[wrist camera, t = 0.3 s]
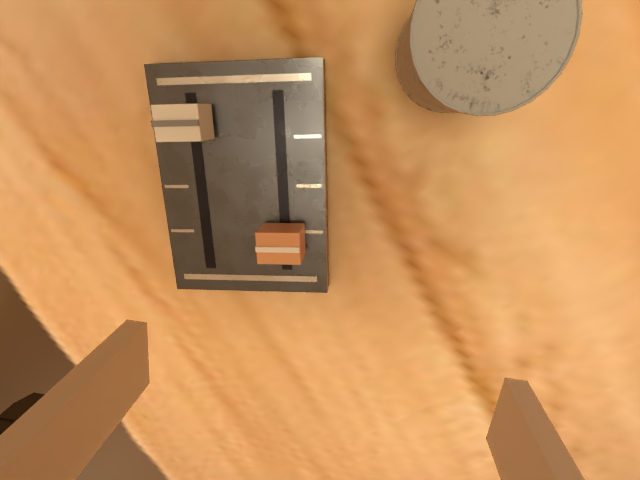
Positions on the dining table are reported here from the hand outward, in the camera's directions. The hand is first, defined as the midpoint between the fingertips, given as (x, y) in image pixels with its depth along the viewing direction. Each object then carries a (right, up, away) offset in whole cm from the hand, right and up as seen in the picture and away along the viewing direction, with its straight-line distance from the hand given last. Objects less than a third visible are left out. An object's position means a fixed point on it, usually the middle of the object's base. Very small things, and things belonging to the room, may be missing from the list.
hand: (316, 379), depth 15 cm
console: (-7, +11, +26) cm, 29 cm away
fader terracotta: (-3, +5, +24) cm, 25 cm away
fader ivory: (-12, +16, +22) cm, 29 cm away
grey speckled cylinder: (+12, +21, +20) cm, 32 cm away
